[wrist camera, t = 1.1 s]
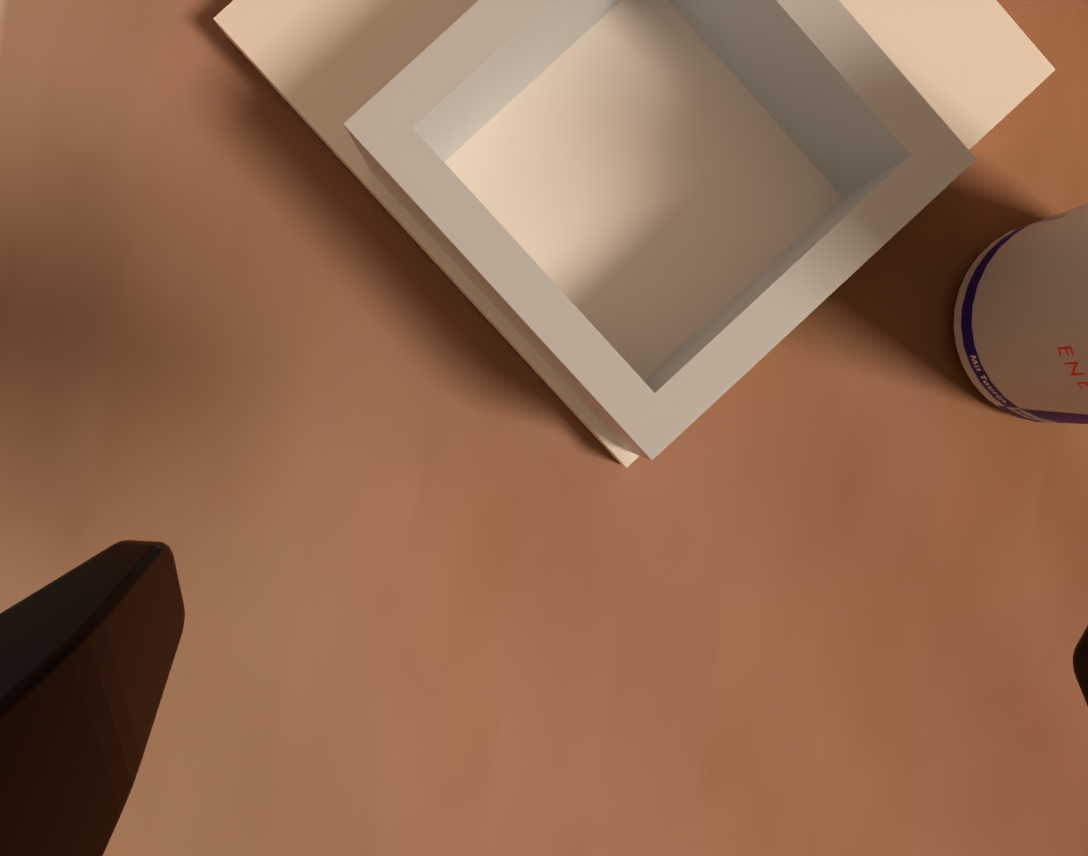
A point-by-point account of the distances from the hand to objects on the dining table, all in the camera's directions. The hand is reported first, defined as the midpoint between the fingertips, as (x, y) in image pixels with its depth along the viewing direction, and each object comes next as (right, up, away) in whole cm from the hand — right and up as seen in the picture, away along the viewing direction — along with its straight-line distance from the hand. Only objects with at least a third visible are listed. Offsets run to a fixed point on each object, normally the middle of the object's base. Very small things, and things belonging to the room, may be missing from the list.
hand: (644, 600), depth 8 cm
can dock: (+1, +11, +14) cm, 18 cm away
